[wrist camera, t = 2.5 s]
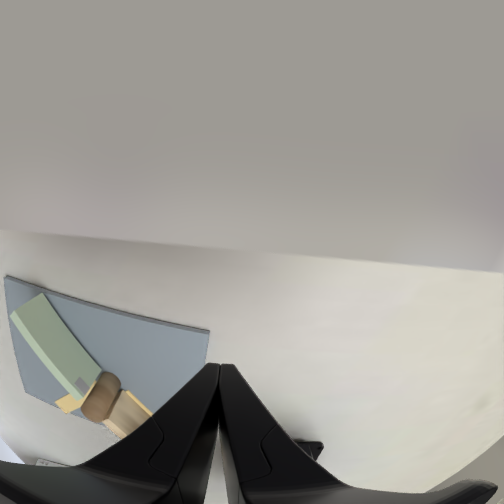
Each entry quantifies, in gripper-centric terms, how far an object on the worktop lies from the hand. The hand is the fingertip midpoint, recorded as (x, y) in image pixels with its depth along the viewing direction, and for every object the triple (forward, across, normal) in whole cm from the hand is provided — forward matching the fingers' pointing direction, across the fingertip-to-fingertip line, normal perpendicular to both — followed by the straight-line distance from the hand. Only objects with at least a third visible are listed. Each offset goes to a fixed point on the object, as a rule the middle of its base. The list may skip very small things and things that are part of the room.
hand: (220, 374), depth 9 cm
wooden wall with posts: (+12, +8, +14) cm, 20 cm away
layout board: (+12, +12, +10) cm, 20 cm away
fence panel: (+11, +14, +6) cm, 19 cm away
